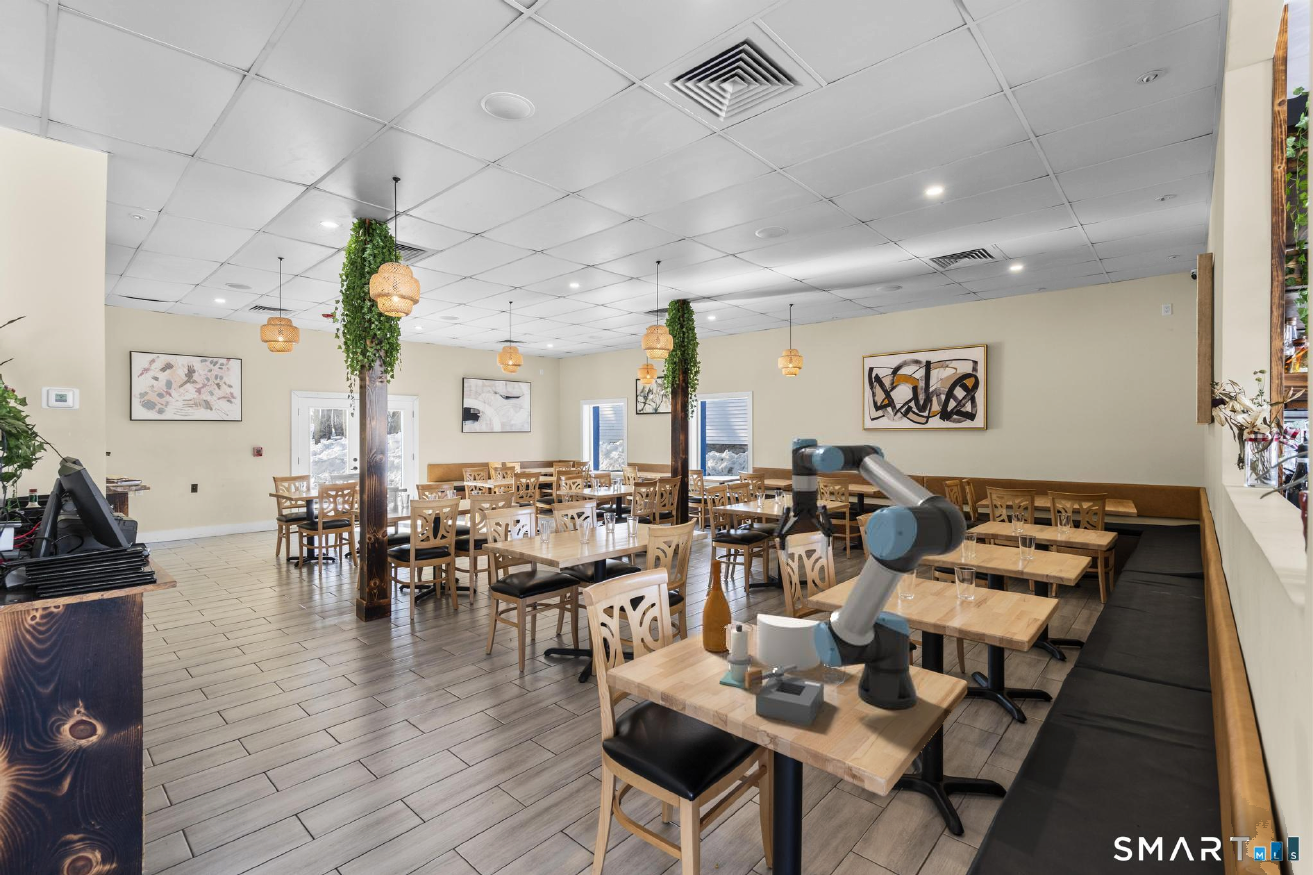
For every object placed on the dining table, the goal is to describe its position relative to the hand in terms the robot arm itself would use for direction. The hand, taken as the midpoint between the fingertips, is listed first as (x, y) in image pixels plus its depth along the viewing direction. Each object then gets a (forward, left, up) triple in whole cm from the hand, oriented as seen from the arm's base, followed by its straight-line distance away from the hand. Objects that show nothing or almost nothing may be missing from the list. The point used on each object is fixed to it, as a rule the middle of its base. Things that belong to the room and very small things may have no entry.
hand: (805, 559), depth 184 cm
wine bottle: (+32, -8, -35) cm, 48 cm away
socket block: (-2, +24, -35) cm, 42 cm away
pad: (+16, +14, -35) cm, 41 cm away
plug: (+16, +14, -34) cm, 40 cm away
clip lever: (+4, +22, -29) cm, 37 cm away
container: (+8, -10, -35) cm, 37 cm away
